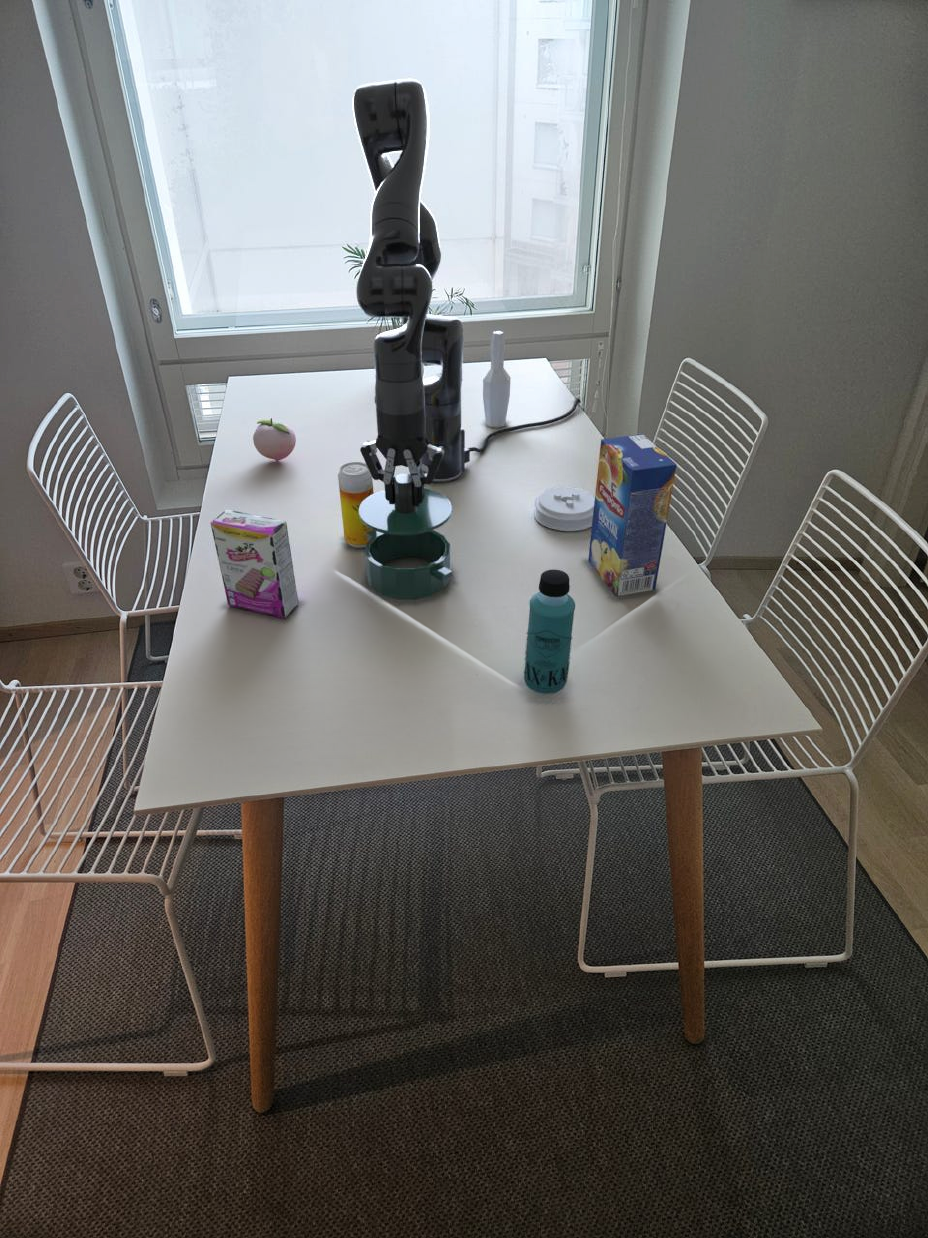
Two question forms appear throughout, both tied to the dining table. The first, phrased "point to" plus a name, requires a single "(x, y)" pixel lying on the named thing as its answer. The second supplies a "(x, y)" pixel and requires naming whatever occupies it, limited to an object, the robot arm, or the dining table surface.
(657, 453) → the juice carton
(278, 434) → the decorative fruit
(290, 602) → the candy bar box
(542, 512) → the lid
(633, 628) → the dining table surface
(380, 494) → the pot lid
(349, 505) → the beer can
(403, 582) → the pot
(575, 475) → the dining table surface
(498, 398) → the low poly bottle
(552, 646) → the beverage bottle
